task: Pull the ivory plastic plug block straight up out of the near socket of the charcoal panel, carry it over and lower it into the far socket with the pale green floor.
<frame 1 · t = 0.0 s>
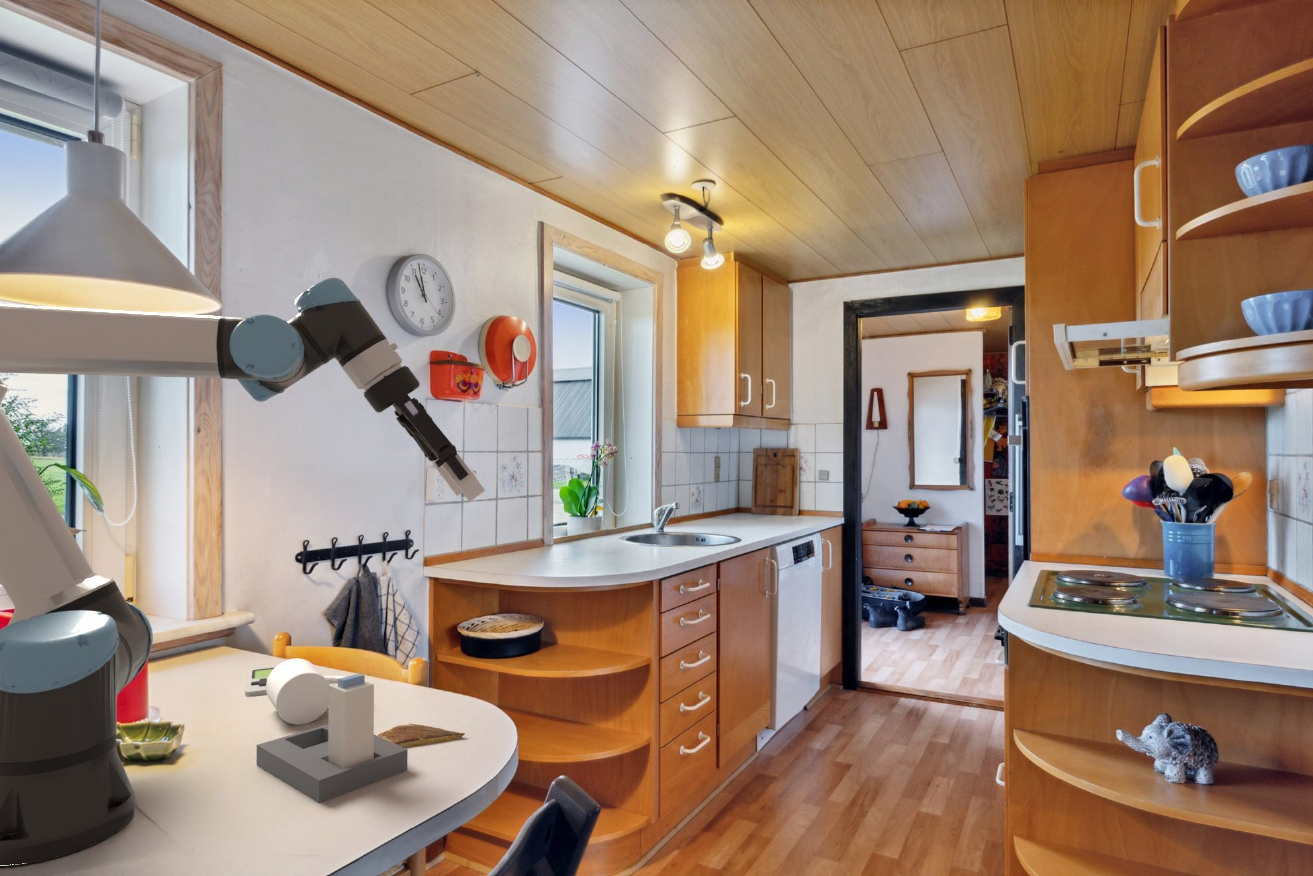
hand: (470, 493, 116), 36 cm above the table, tool tilted 35°, fingers open, 13 cm apart
panel: (331, 769, 102), on the table
plug: (350, 778, 99), resting on panel
shard: (419, 742, 113), on the table
handheld gaming console: (277, 684, 140), on the table
mug: (311, 714, 124), on the table
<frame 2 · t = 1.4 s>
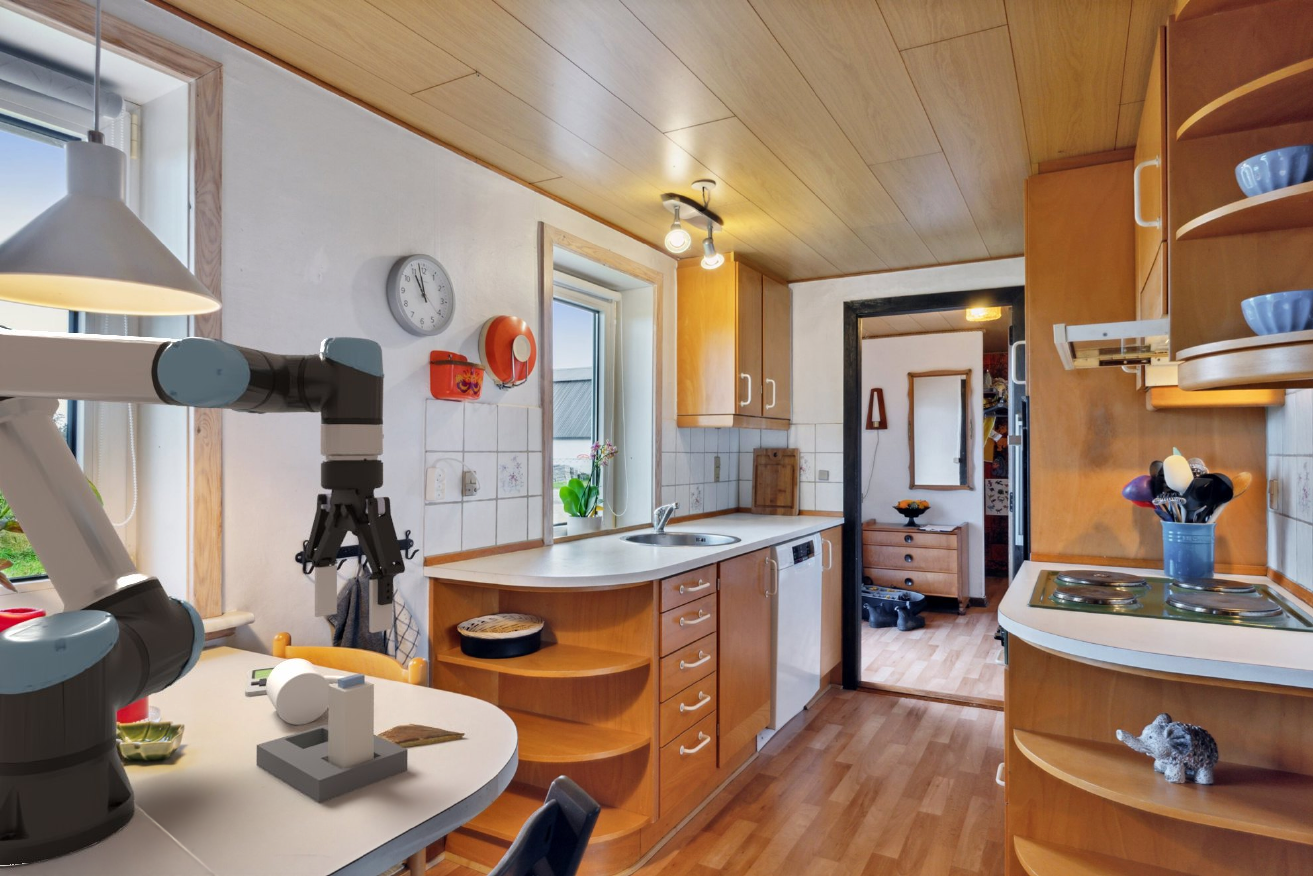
hand: (352, 622, 99), 20 cm above the table, tool pointing down, fingers open, 13 cm apart
nothing on the table moved.
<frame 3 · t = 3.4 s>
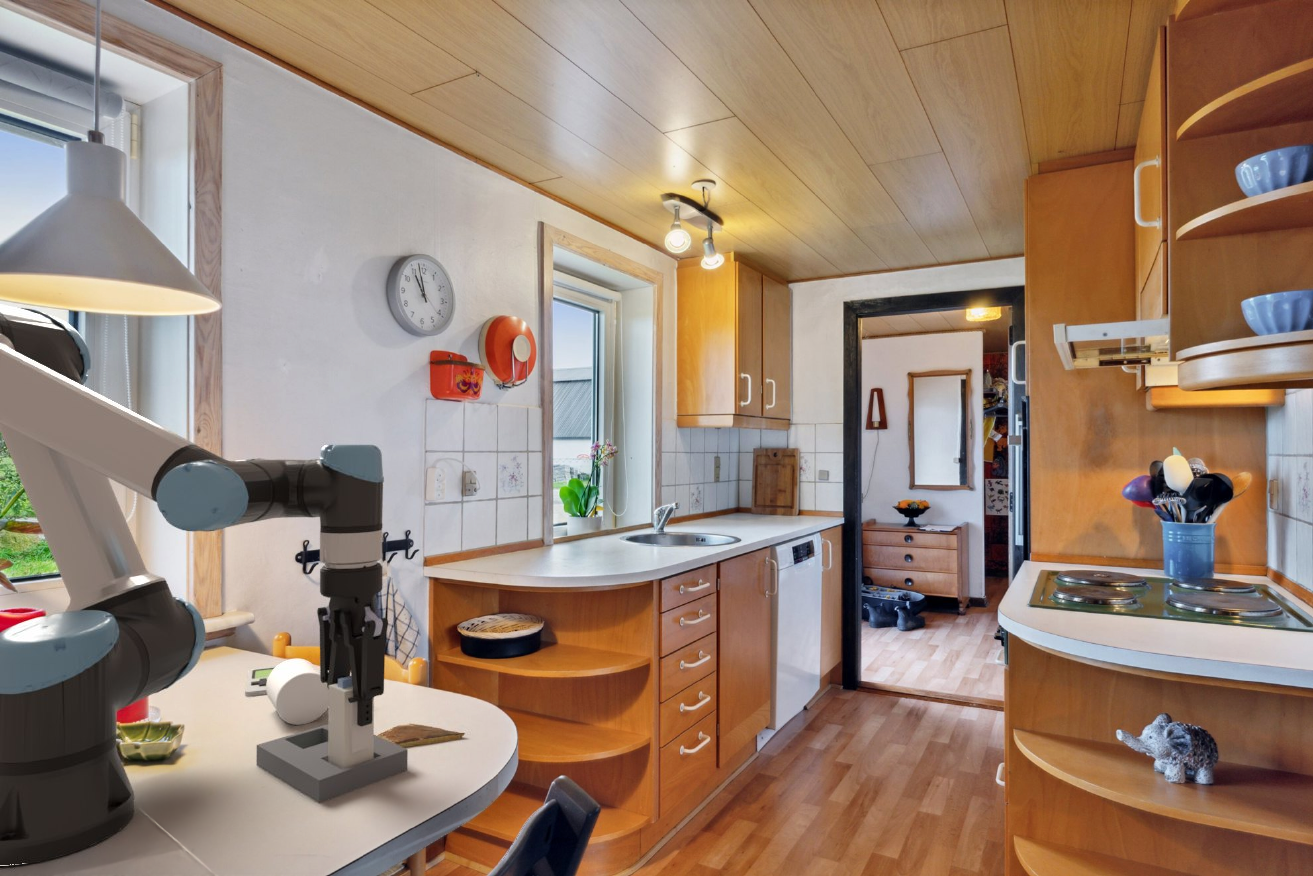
hand: (351, 744, 99), 5 cm above the table, tool pointing down, fingers closed on plug, 4 cm apart
plug: (350, 778, 99), resting on panel, touching gripper
everything else where it was.
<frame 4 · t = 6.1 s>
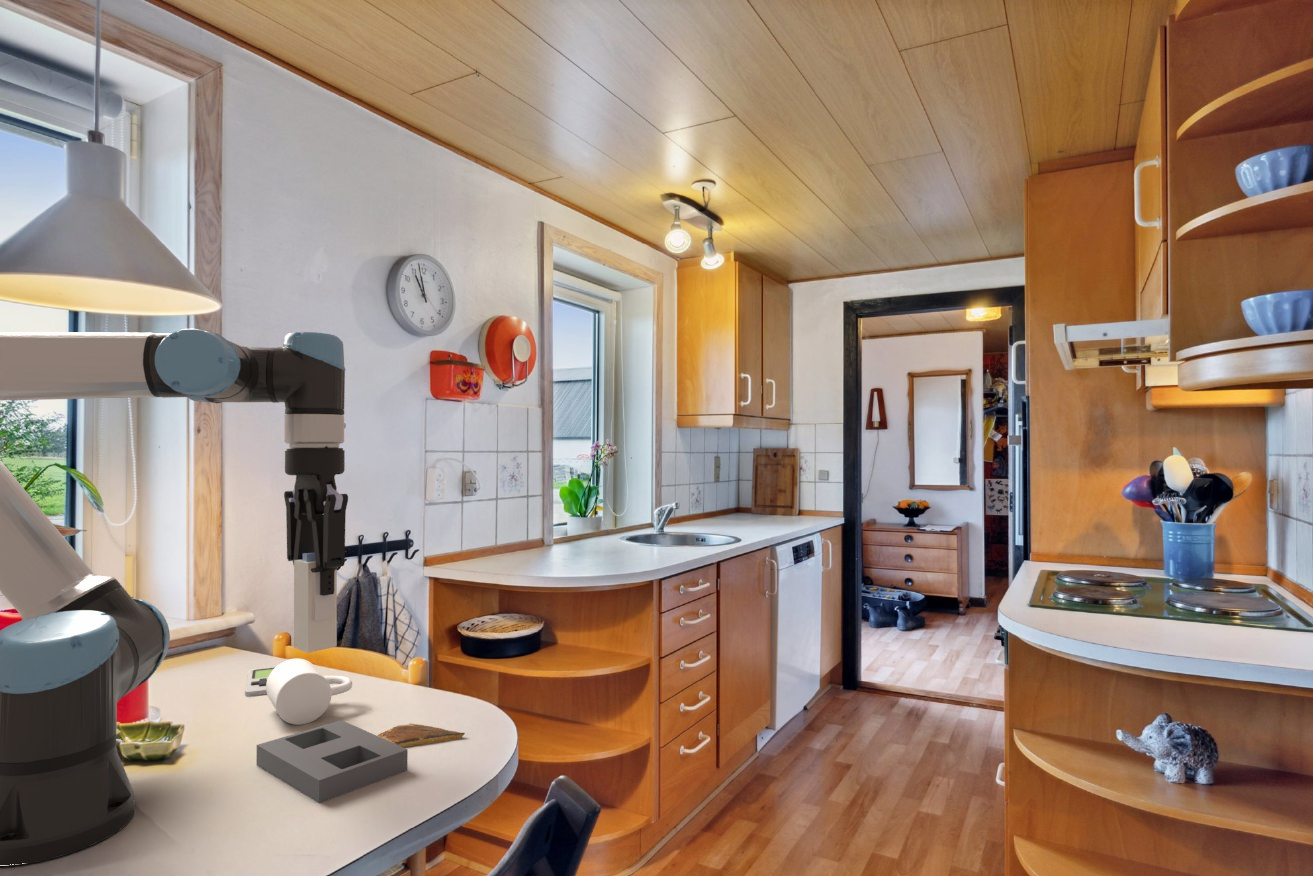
hand: (315, 615, 105), 20 cm above the table, tool pointing down, fingers closed on plug, 4 cm apart
plug: (315, 647, 105), point 15 cm above the table, touching gripper
everything else where it was.
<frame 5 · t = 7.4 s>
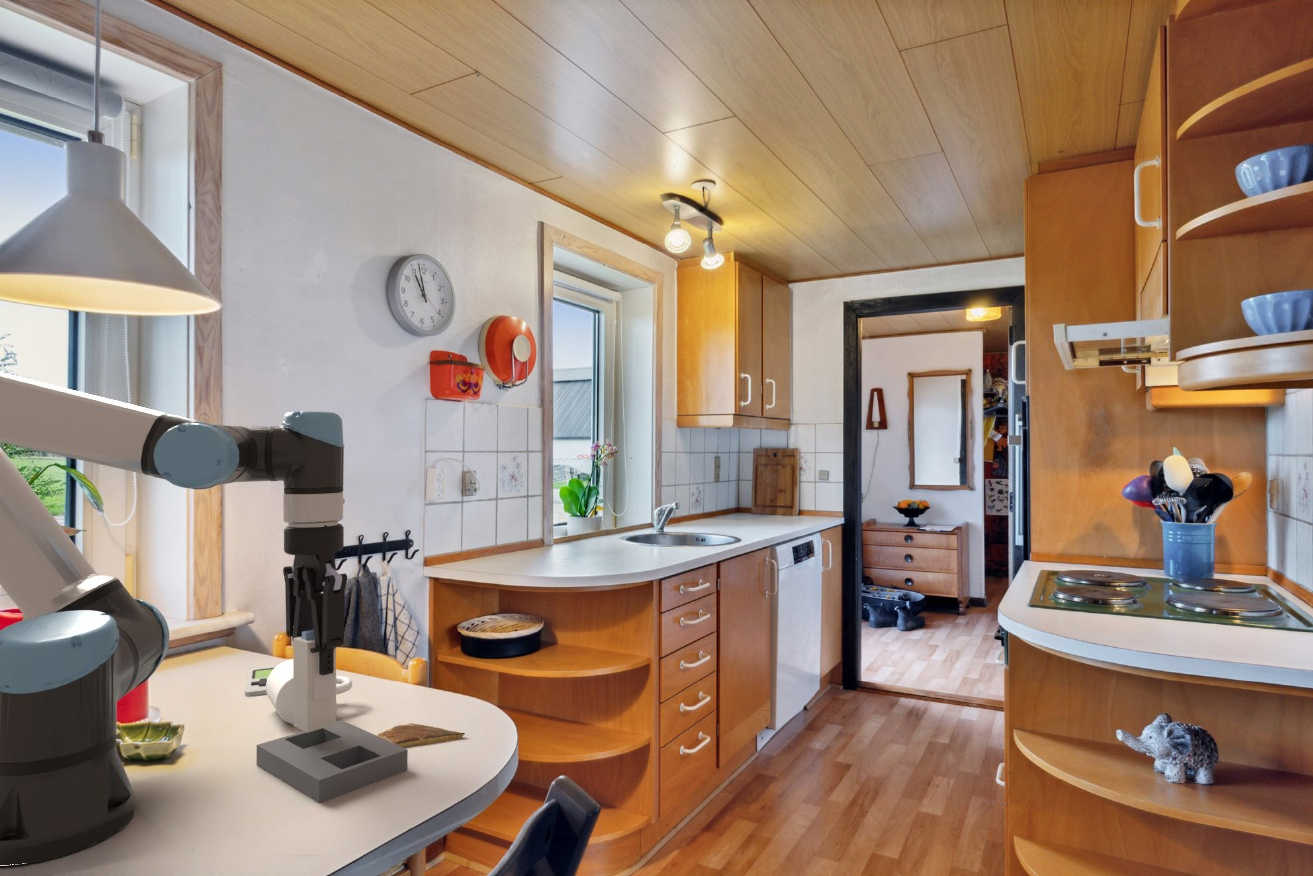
hand: (314, 693, 105), 9 cm above the table, tool pointing down, fingers closed on plug, 4 cm apart
plug: (314, 725, 105), point 5 cm above the table, touching gripper
everything else where it was.
when the fingers open (6 cm above the table, at t = 8.7 s): plug stays where it is, resting on panel.
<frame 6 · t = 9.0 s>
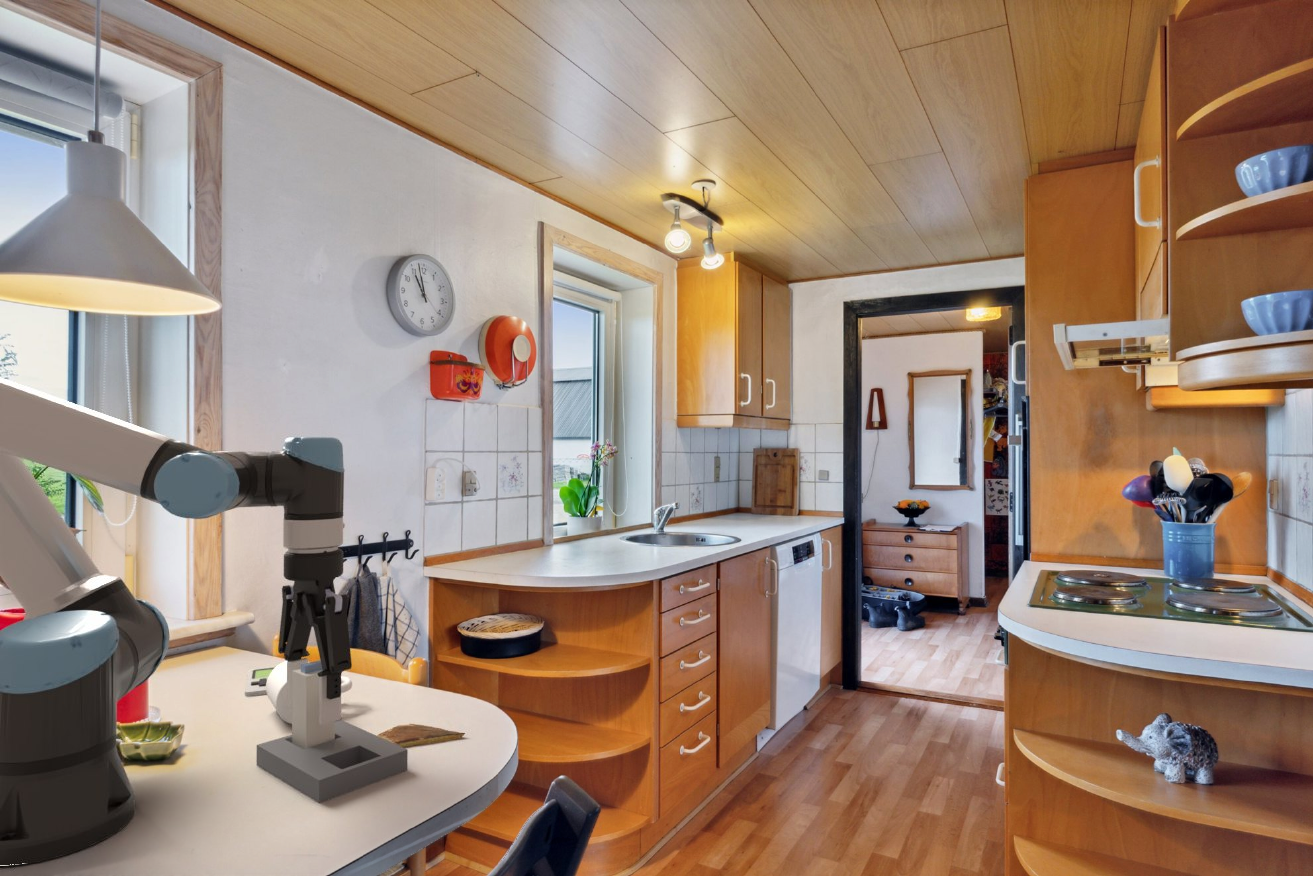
hand: (313, 713, 105), 6 cm above the table, tool pointing down, fingers open, 8 cm apart
plug: (313, 757, 105), resting on panel
everything else where it was.
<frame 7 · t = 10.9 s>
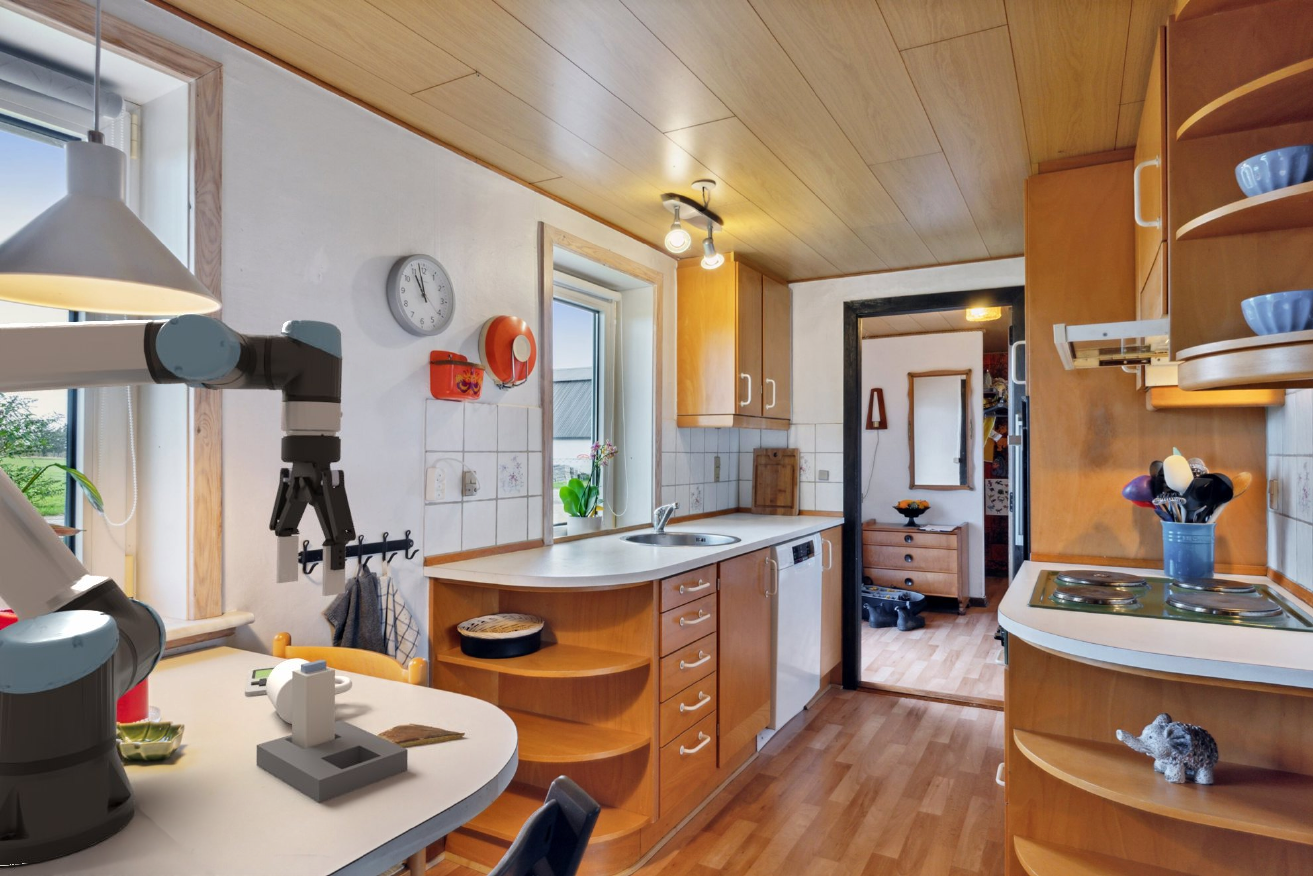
hand: (309, 588, 106), 24 cm above the table, tool pointing down, fingers open, 13 cm apart
nothing on the table moved.
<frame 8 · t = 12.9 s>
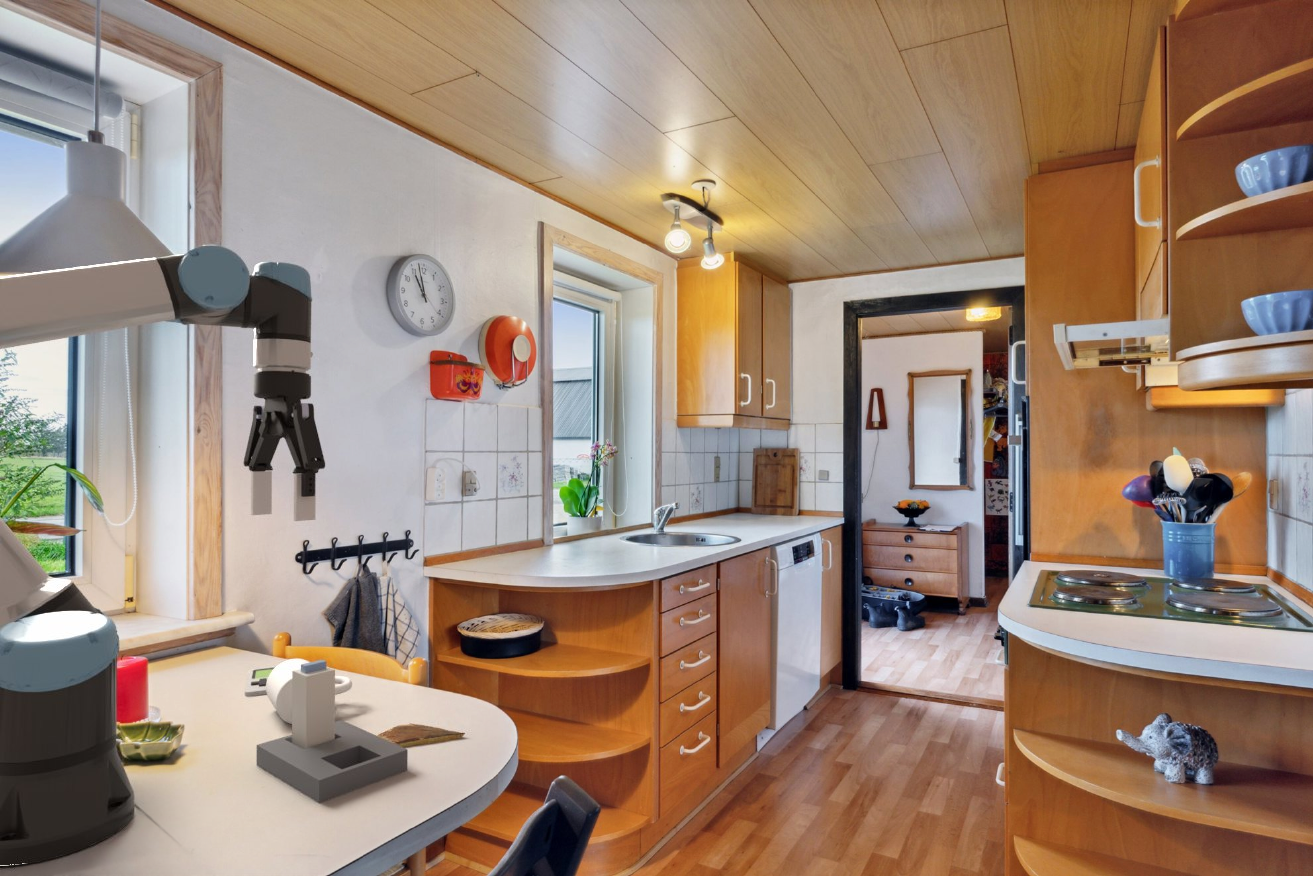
hand: (282, 517, 111), 33 cm above the table, tool pointing down, fingers open, 13 cm apart
nothing on the table moved.
at the end: plug 0.0 cm from the target spot on the panel, point 0.3 cm above the panel's base; plug tilted 0°; the gripper is holding nothing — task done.
